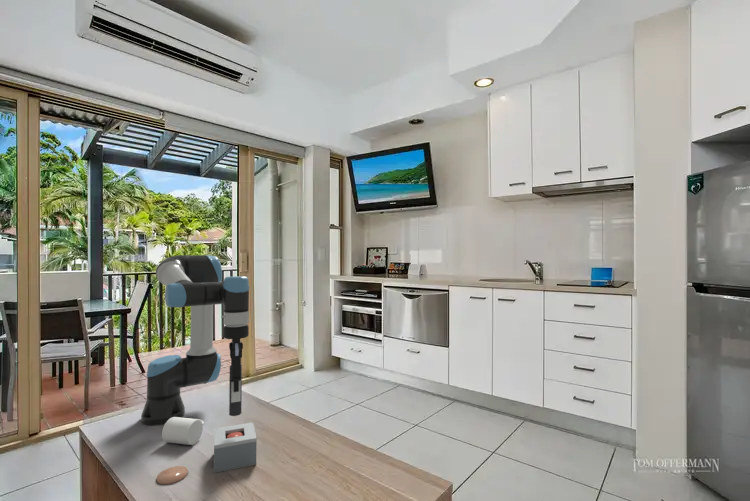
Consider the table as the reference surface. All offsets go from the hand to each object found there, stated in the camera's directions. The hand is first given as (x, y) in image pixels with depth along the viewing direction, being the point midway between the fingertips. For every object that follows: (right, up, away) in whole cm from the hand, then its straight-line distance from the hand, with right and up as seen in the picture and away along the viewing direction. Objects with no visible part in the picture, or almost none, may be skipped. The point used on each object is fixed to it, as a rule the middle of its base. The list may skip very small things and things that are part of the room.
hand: (235, 399), depth 117 cm
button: (0, -14, 0) cm, 15 cm away
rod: (0, -5, 0) cm, 5 cm away
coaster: (-15, -18, -10) cm, 26 cm away
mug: (-22, -19, +12) cm, 32 cm away
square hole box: (0, -19, 0) cm, 19 cm away
